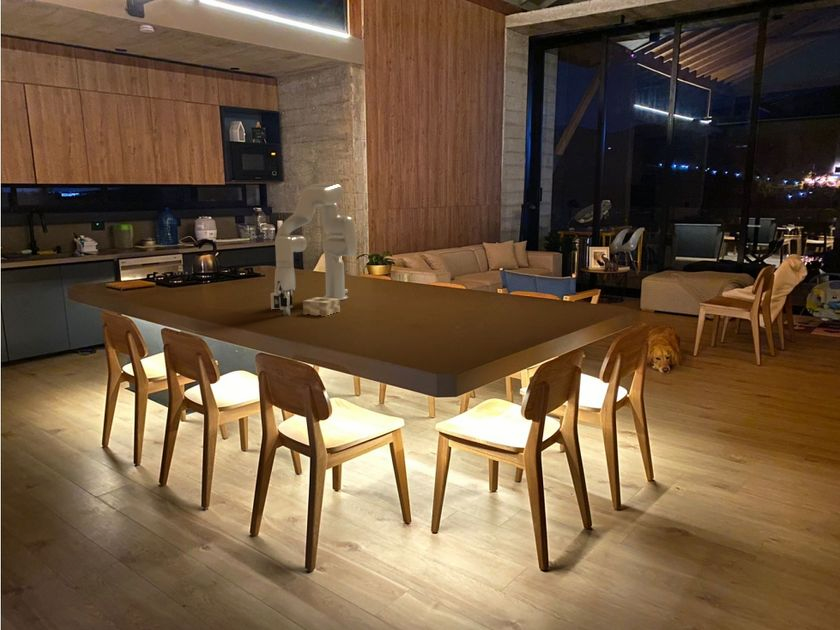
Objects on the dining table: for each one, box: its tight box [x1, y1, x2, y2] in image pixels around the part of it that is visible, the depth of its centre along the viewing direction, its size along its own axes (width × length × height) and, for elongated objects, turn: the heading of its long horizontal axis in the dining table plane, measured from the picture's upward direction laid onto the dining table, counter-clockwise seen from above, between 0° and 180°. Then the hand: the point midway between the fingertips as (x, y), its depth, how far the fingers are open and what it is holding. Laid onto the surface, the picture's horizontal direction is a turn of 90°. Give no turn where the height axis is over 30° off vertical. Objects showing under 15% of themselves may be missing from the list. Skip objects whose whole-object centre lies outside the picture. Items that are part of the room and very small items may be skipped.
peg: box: [282, 290, 291, 316], centre depth 282 cm, size 3×3×12 cm
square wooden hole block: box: [302, 296, 341, 317], centre depth 287 cm, size 12×12×6 cm
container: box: [270, 281, 294, 311], centre depth 297 cm, size 8×8×13 cm
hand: (286, 305), depth 283 cm, fingers open, 3 cm apart
